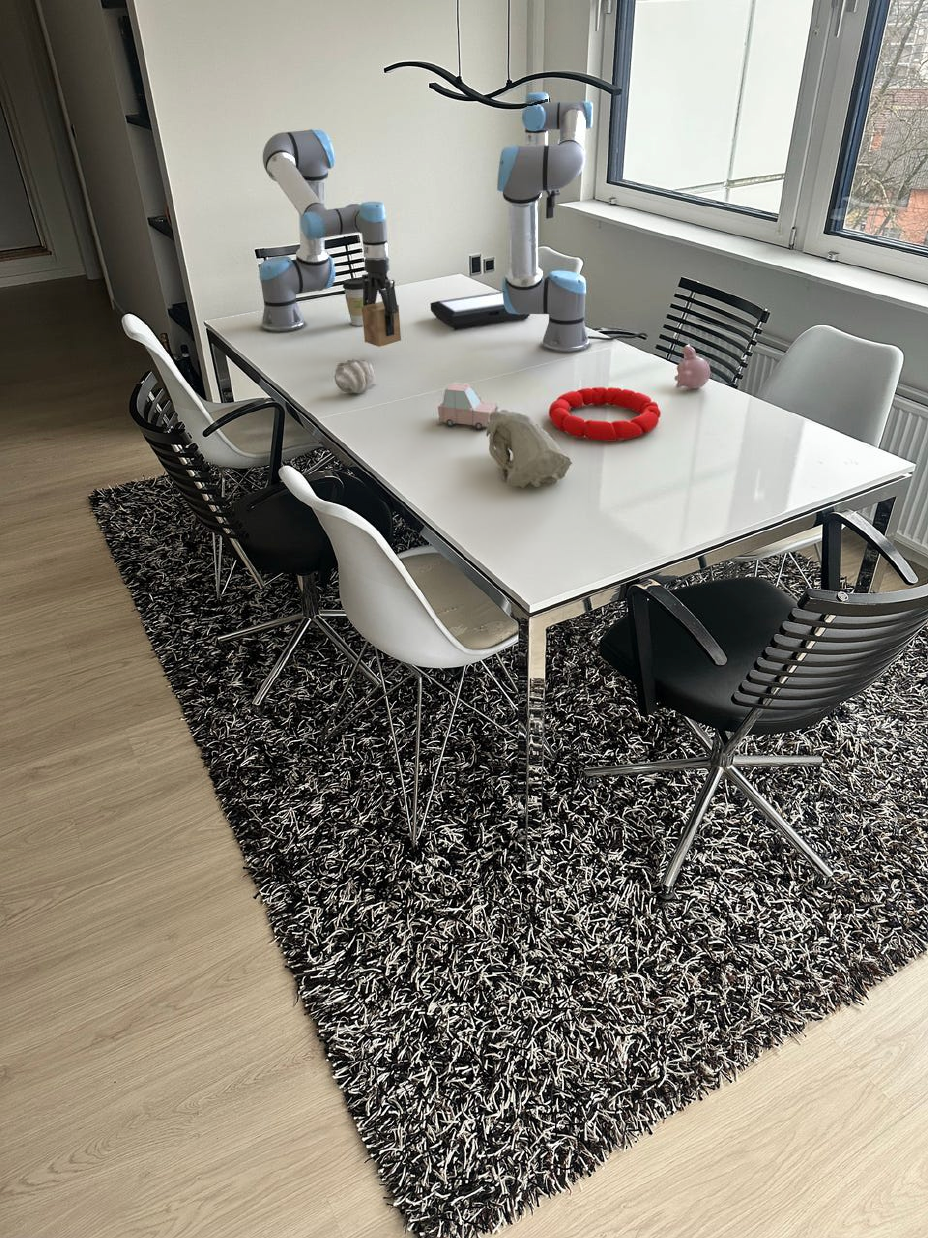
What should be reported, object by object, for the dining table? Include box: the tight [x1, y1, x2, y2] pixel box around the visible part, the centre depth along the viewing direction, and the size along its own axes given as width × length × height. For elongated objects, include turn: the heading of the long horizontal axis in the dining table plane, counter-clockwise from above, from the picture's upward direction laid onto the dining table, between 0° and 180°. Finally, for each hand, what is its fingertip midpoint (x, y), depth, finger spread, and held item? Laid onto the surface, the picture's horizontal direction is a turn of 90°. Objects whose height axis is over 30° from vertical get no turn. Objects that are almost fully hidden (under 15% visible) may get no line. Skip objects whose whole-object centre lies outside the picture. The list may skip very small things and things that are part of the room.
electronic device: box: [430, 291, 531, 331], centre depth 325 cm, size 32×6×20 cm
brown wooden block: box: [362, 300, 402, 348], centre depth 285 cm, size 8×9×11 cm
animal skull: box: [485, 409, 573, 489], centre depth 216 cm, size 17×25×20 cm
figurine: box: [674, 344, 711, 390], centre depth 259 cm, size 9×11×12 cm
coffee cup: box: [342, 277, 368, 327], centre depth 323 cm, size 10×10×15 cm
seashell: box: [333, 359, 375, 394], centre depth 265 cm, size 10×15×10 cm
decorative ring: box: [548, 386, 661, 442], centre depth 242 cm, size 7×30×30 cm
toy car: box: [437, 382, 499, 431], centre depth 243 cm, size 9×15×10 cm, turn 70°
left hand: (382, 332), depth 286 cm, fingers closed on brown wooden block, 8 cm apart
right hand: (535, 215), depth 308 cm, fingers open, 13 cm apart
